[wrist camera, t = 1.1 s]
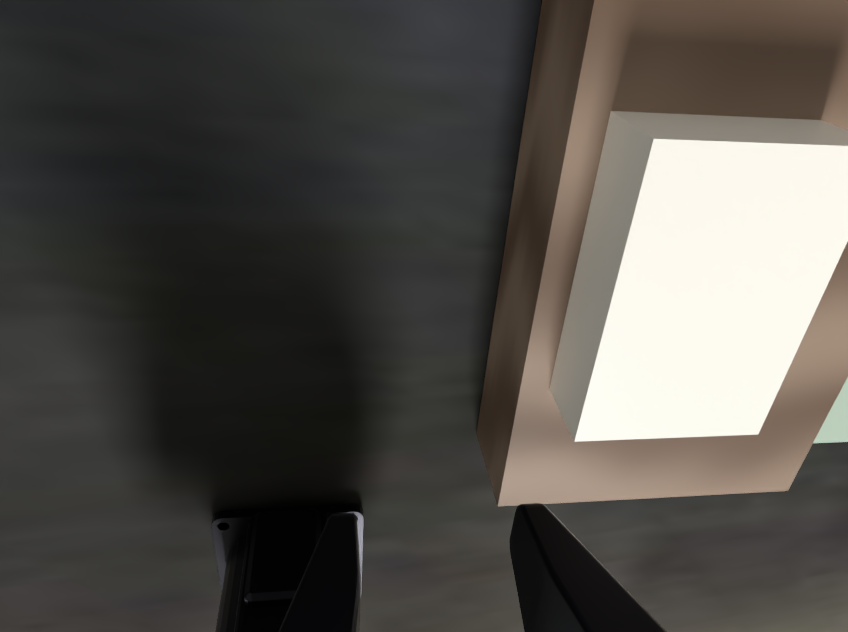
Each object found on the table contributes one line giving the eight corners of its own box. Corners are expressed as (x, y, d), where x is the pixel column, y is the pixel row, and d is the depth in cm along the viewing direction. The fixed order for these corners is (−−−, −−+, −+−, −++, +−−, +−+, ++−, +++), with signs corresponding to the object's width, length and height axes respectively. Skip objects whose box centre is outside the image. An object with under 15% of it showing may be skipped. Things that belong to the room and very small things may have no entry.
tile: (716, 385, 22) (758, 434, 19) (549, 389, 21) (574, 441, 19) (820, 119, 17) (891, 147, 15) (610, 110, 16) (654, 138, 14)
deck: (733, 424, 29) (787, 490, 25) (476, 433, 27) (497, 506, 23) (959, -102, 18) (1103, -108, 15) (563, -144, 16) (625, -162, 13)
